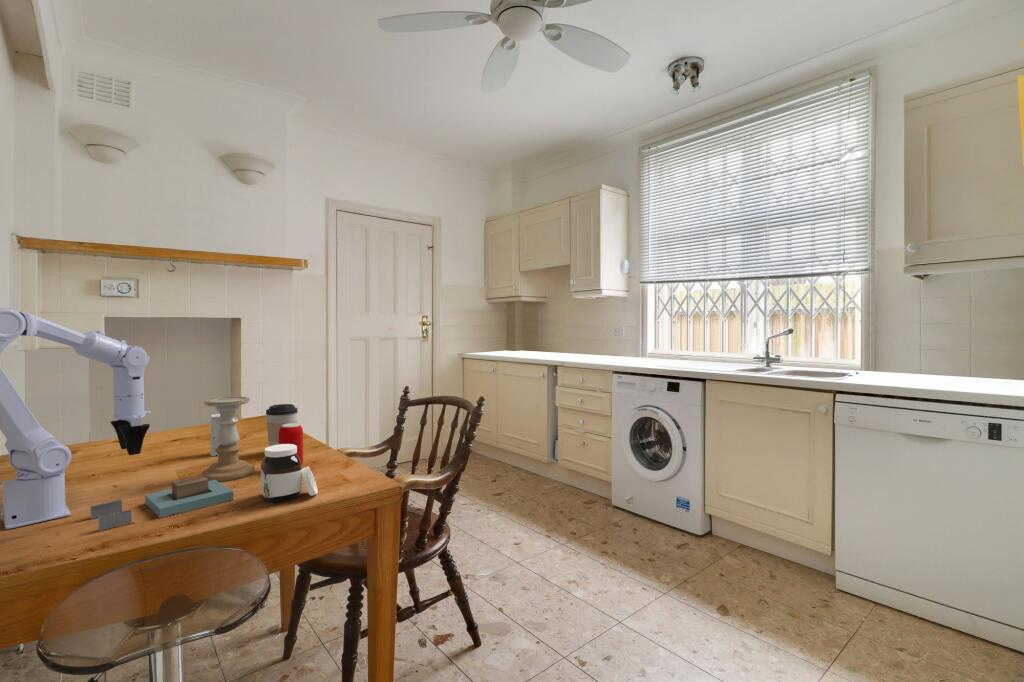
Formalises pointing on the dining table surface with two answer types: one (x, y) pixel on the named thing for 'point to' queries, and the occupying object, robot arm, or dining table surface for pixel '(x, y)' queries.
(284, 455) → the spread jar
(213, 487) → the socket board
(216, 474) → the candle holder
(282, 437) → the beverage can
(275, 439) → the coffee cup
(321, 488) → the dining table surface
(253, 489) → the dining table surface
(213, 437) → the skincare box
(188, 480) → the walnut block
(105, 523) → the metal stand
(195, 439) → the dining table surface
